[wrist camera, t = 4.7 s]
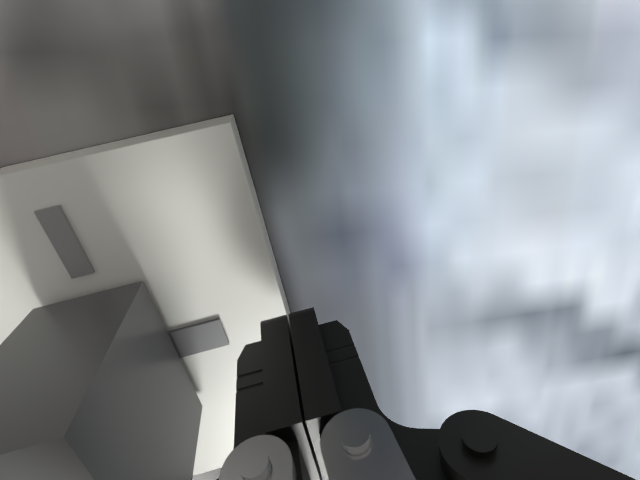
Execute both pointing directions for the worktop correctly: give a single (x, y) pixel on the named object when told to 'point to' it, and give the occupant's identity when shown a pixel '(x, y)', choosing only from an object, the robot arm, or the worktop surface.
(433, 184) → the worktop surface
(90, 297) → the fader cap
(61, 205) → the fader console
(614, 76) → the worktop surface
